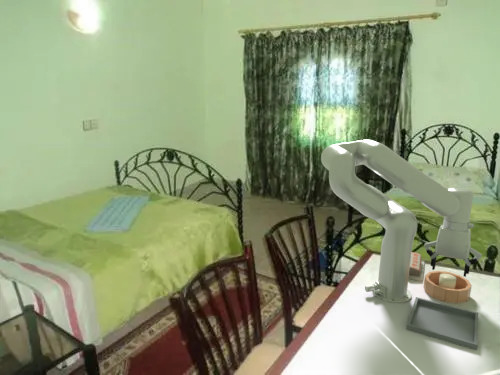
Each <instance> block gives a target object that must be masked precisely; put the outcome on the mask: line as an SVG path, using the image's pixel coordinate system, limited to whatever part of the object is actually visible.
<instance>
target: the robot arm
mask: <svg viewBox="0 0 500 375" xmlns="http://www.w3.org/2000/svg"><path fill="white" fill-rule="evenodd" d="M320 155H321V156H320V161H321V164H322V165H323V167H324V168H325V169H326V170H327V171H328V181H329V182H328V183H329V186H330V189H331V191H332V192H333V193H334V194H335V195H336V196H337V197H338V198H339V199H341V200H343V202H345V203H346V204H348V205H350V206H351V207H352V208H354V209H355V210H356V211H358V212H360V214H362V215H363V216H365V217H367V218H369V219H372V220H374V221H376V222H377V223H378V224H379V225H381V227H383V228H384V230H385V233H384V236H383V237H382V238H383V239H382V242H381V246H380V258H379V259H380V260H379V267H378V280H375V282H374V284H372V285H367V286H364V291H365V292H366V293H370V292H372V294H373V296H375V297H376V298H378V299H379V300H381V301H383V302H387V303H389V304H390V303H391V304H405V303H408V302H410V301H411V300H412V293H411V291H409V289H408V287H409V279H408V278H409V270H410V261H411V252H413V251H412V249H413V244H414V239H415V237H416V234H417V231H418V220H417V217H416V215H415V214H414V213H413V212H412V211H411V210H409V209H408V208H406V207H405V206H403V205H401V204H400V203H399V202H398V201H396V200H394V199H392V198H391V197H390V196H388V195H386V194H385V193H383V192H382V191H381V190H379V189H378V188H376V187H375V186H373V185H372V184H367V183H366V182H364V181H363V180H362V179H360V178H359V177H358V176H357V174H356V166H361V165H364V166H365V167H367V168H368V169H370V170H371V171H373V172H374V173H375V174H376V175H378V176H380V177H381V178H382V179H384V180H385V181H387V182H388V183H389V184H391V185H392V186H394V187H396V189H398V190H400V191H401V192H403V193H405V194H407V195H409V196H411V197H413V198H415V199H416V200H418V201H419V202H420V203H421V204H422V205H423V206H424V207H426V208H427V209H429V210H431V211H432V212H434V213H435V214H437V215H439V216H440V217H441V216H442V217H443V222H442V224H441V225H440V226H439V230H438V233H437V237H436V240H434V241H429V242H425V243H424V246H423V247H424V248H425V252H426V254H428V256H429V257H430V258H431V259H430V267H432V268H431V269H432V271H435V270H436V269H435V268H436V263H437V257H438V256H441V257H447V258H452V259H455V260H456V259H457V260H461V261H462V260H463V261H464V264H465V265H464V269H463V277H464V278H466V277H467V275H469V274H470V268H471V266H472V265H474V264H476V263H478V261H479V260H480V259H481V258H482V256H483V255H482V253H480V252H479V251H478V250H476V249H475V248H473V247H471V241H472V233H471V232H472V231H471V229H474V227H475V223H471V222H470V221H471V213H472V207H473V206H472V205H473V200H474V192H473V190H471V189H469V188H466V187H460V186H459V187H457V186H455V187H445V186H443V185H442V184H440V183H438V182H437V181H436V180H434V179H433V178H431V177H430V176H428V175H427V174H425V173H424V172H423V171H421V170H420V169H419V168H417V167H416V166H414V165H413V164H412V163H410V162H408V161H407V160H406V159H404V158H403V157H402V156H400V155H399V154H398V153H396V152H395V151H394V150H392V149H391V148H389V147H388V146H387V145H385V144H383V143H381V142H378V141H375V140H373V139H363V140H362V139H360V140H356V141H349V142H341V143H335V144H331V145H328V146H326V147H325V148H324V150H323V151H322V152H321V154H320ZM434 246H435V248H434V251H432V249H431V247H434ZM470 253H471V254H472V255H474V257H472V258H470V257H469V256H470Z"/></svg>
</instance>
